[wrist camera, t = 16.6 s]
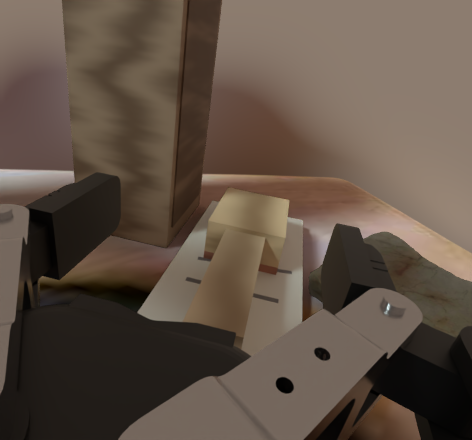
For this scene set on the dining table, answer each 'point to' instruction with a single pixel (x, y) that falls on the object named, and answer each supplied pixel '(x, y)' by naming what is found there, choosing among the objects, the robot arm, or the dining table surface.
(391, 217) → the dining table surface
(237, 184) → the dining table surface
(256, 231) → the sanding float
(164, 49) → the zigzag patterned tall block
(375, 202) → the dining table surface
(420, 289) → the marble piece
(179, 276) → the grey board
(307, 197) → the dining table surface
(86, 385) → the robot arm
